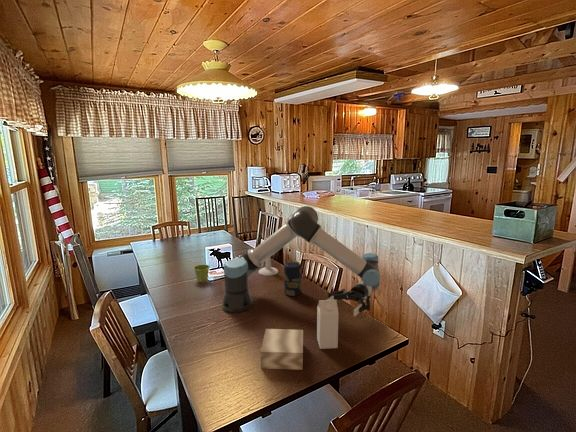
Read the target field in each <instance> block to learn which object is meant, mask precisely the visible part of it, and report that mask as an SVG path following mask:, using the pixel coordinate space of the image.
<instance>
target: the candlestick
mask: <svg viewBox="0 0 576 432" xmlns="http://www.w3.org/2000/svg"><path fill="white" fill-rule="evenodd" d="M265 233H266V234H265V235H266V236H265V238H264V240H266V239H267V238H268V237H270V228H269V227H265ZM271 259H272V258H271V257H269V258H268V259H267V260H266V261H265V267H261V268H260V269H259V270H258V275H261V276H265V277H266V276H267V277H269V276H270V277H271V276H276V275H277V274H278V273H279V270H278V269H277V268H275V267H272V261H271Z"/></svg>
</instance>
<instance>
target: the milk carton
mask: <svg viewBox="0 0 576 432" xmlns="http://www.w3.org/2000/svg"><path fill="white" fill-rule="evenodd" d="M337 302H338V300H327V299H325V300H324V299H323V300H322V299H321V300H318V303H317V306H316V311H317V312H316V316H317V317H316V340H317V343H318V347H319V349H320V350H327V349H338V347H339V345H338V344H339V343H338V341H339V308H338V303H337Z"/></svg>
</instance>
